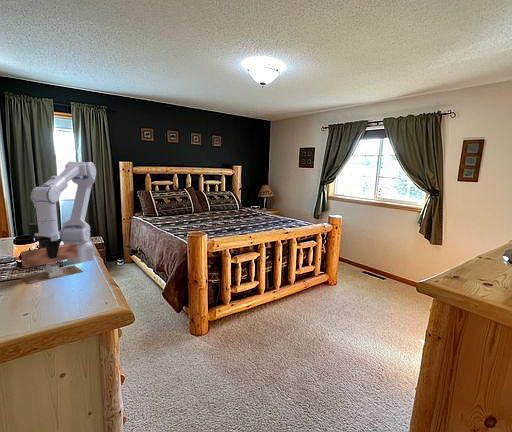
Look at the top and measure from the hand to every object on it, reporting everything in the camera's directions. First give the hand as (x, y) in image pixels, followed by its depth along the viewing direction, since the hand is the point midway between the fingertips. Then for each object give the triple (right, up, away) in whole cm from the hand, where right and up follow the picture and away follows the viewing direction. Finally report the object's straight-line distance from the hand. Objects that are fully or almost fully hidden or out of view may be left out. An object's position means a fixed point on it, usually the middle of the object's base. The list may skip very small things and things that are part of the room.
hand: (51, 256), depth 101 cm
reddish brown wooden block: (0, -2, 0) cm, 2 cm away
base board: (0, -8, +1) cm, 8 cm away
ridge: (0, -7, +1) cm, 7 cm away
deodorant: (-25, -4, +26) cm, 36 cm away
